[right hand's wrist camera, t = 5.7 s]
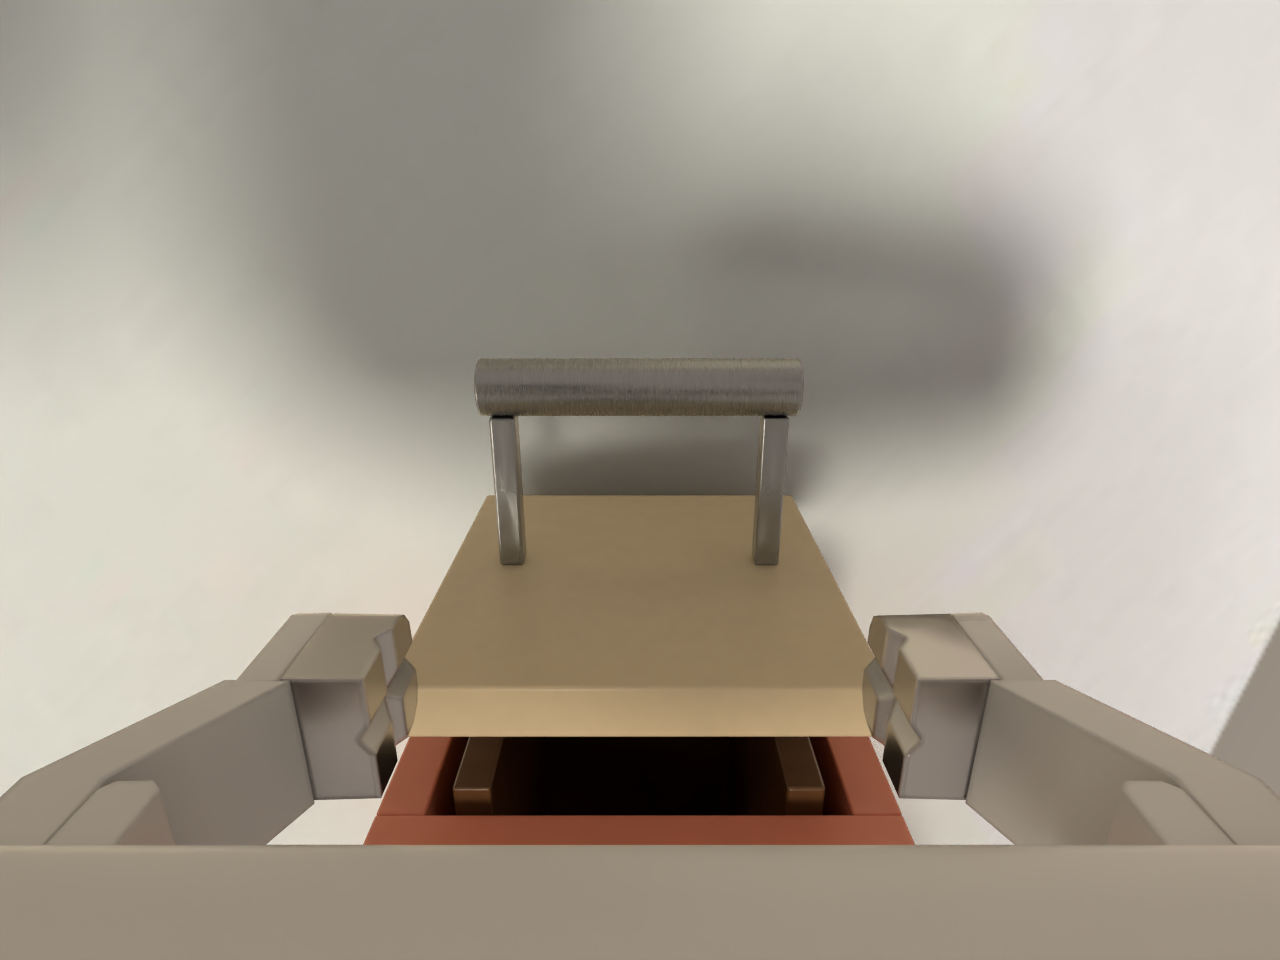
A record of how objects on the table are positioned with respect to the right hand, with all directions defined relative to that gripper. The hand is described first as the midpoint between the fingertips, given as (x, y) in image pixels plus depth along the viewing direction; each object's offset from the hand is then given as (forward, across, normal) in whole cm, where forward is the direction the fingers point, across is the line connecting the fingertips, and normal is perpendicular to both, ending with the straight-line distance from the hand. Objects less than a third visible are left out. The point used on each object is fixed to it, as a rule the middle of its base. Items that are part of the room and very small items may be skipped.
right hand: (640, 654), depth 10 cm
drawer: (+12, 0, -8) cm, 15 cm away
